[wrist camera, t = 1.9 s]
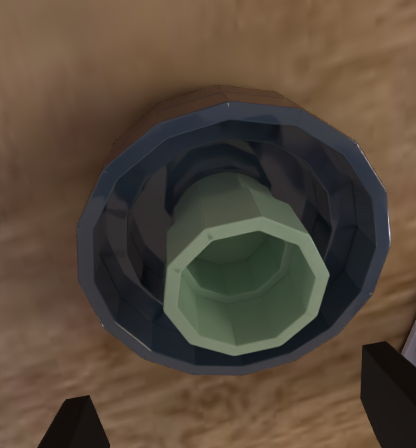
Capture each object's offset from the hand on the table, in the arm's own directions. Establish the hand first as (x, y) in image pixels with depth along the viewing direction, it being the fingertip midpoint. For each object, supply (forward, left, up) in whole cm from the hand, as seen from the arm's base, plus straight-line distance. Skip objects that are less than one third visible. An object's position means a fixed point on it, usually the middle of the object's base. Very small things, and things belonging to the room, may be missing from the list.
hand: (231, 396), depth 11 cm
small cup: (-1, -1, -9) cm, 9 cm away
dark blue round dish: (-1, -1, -10) cm, 10 cm away
